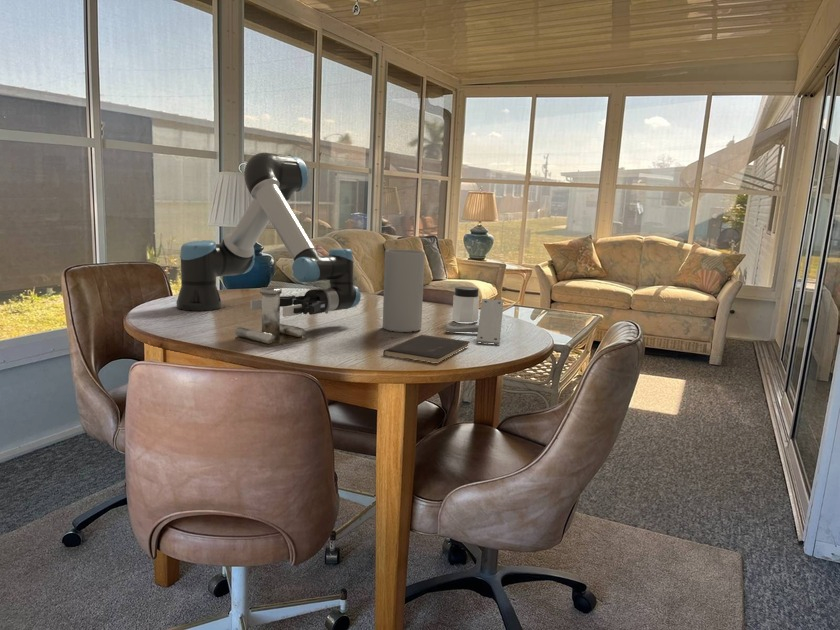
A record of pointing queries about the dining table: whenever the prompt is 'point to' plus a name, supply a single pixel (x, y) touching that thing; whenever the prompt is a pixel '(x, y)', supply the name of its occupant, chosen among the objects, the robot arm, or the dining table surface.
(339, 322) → the dining table surface
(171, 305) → the dining table surface
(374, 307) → the dining table surface
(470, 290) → the jar
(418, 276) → the cylinder vase
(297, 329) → the hinge leaf
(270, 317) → the hinge pin
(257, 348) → the dining table surface
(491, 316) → the door handle
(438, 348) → the hardcover book
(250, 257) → the robot arm
